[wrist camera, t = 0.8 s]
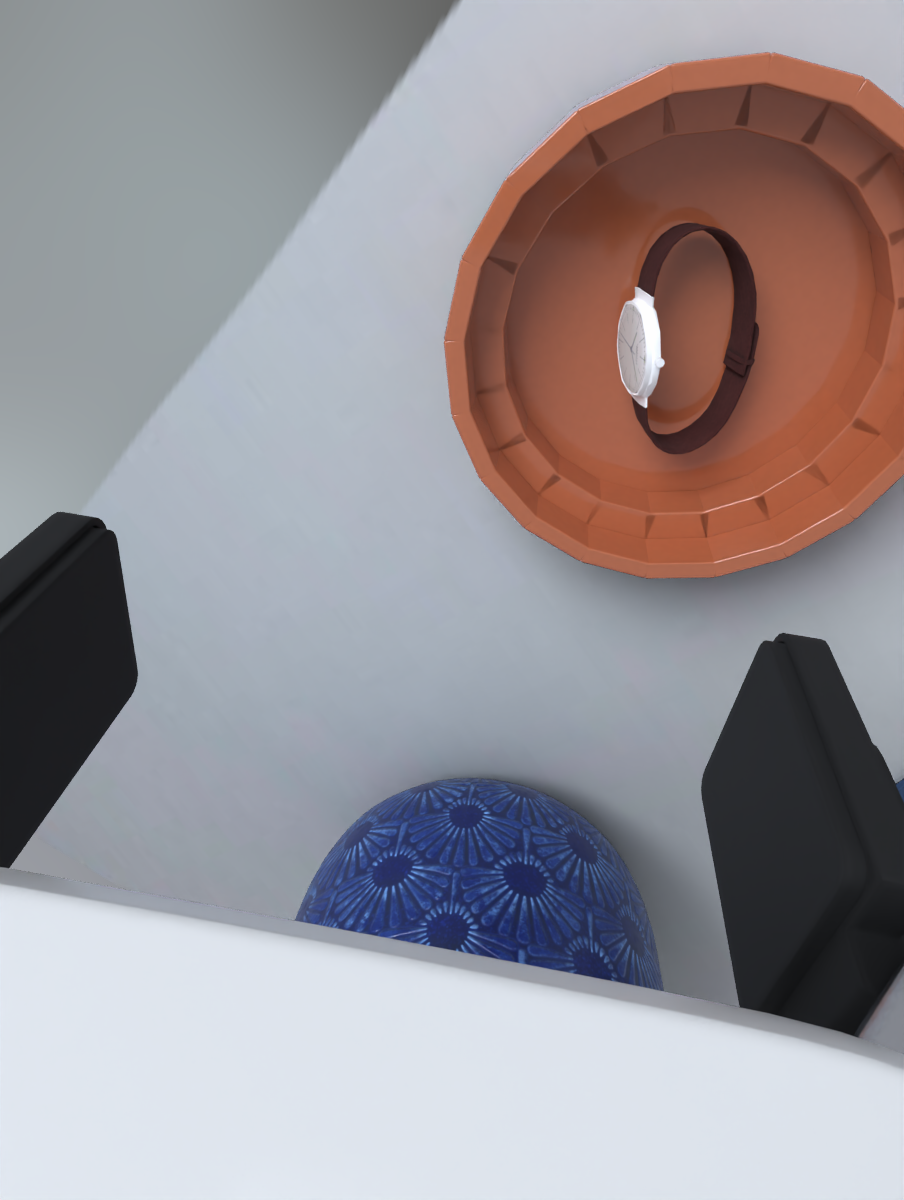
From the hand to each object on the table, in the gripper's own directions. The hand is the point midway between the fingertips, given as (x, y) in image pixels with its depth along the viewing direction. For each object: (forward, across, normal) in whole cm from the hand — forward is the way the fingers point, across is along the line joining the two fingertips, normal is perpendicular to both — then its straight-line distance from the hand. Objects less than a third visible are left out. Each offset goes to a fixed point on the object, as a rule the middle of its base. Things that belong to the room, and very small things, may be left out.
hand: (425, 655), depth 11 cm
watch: (+21, -6, 0) cm, 22 cm away
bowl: (+22, -6, 0) cm, 22 cm away
